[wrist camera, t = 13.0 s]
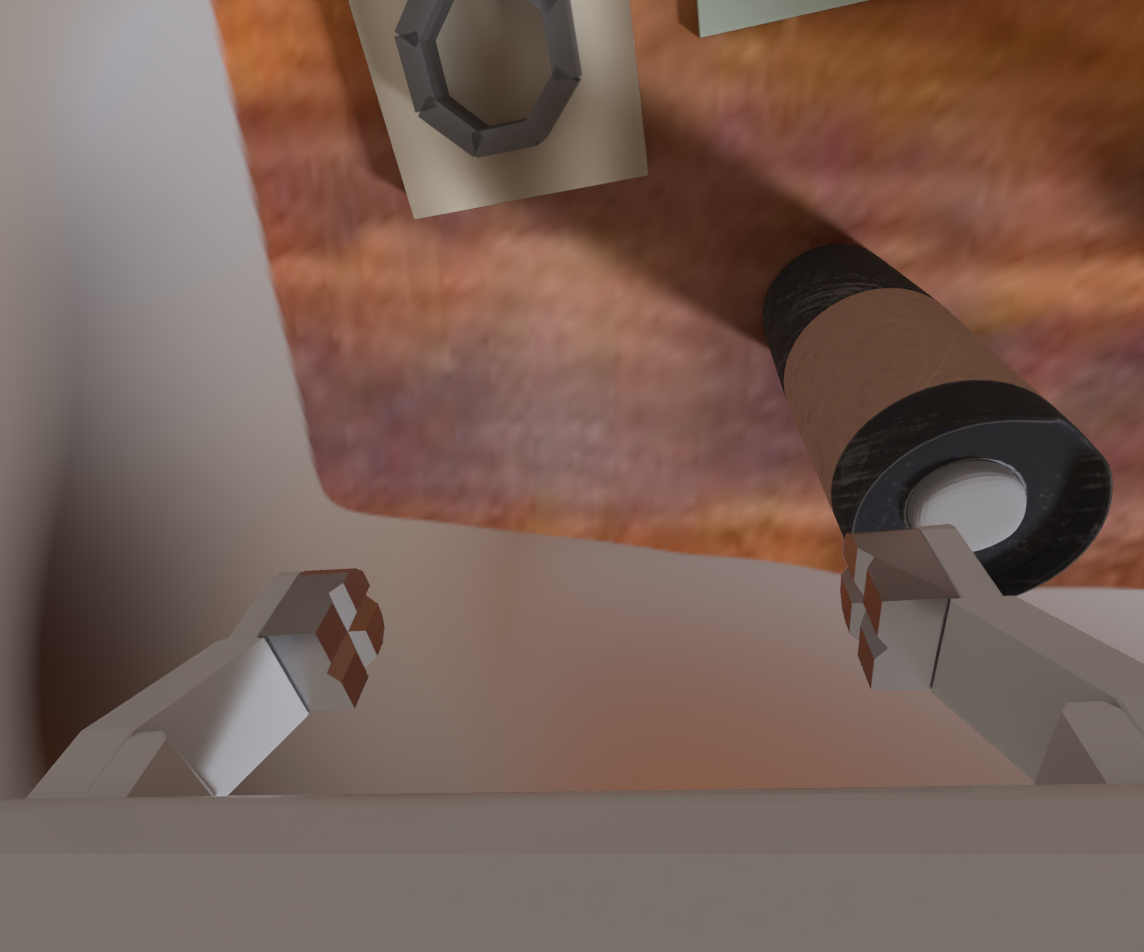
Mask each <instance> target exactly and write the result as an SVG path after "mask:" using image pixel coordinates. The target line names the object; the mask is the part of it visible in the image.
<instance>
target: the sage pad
mask: <svg viewBox="0 0 1144 952" xmlns="http://www.w3.org/2000/svg"><path fill="white" fill-rule="evenodd" d="M863 1H868V0H696V2H697V16H698V31H699V38H702V37H706V36H711V35H715V34H720V33H724V32H729V31H733V30H738V29H742V28H747V27H751V26H756V25H760V24H765V23H769V22H774V21H778V20H783V19H787V18H791V17H796V16H800V15H805V14H809V13H814V12H818V11H823V10H827V9H832V8H836V7H841V6H845V5H850V4H854V3H859V2H863Z"/></svg>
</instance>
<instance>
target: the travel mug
mask: <svg viewBox="0 0 1144 952" xmlns="http://www.w3.org/2000/svg"><path fill="white" fill-rule="evenodd" d="M763 325H764V330H765V334H766V338H767V341H768V345H769V348H770V351H771V354H772V357H773V360H774V363H775V366H776V370H777V373H778V376H779V379H780V382H781V385H782V388H783V392H784V395H785V398H786V401H787V403H788V406H789V408H790V410H791V413H792V415H793V418H794V420H795V422H796V425H797V427H798V430H799V432H800V434H801V437H802V439H803V441H804V444H805V446H806V449H807V451H808V453H809V456H810V458H811V460H812V463H813V465H814V468H815V470H816V472H817V475H818V477H819V480H820V482H821V484H822V487H823V489H824V491H825V494H826V496H827V499H828V501H829V503H830V506H831V508H832V511H833V513H834V515H835V518H836V520H837V522H838V525H839V527H840V530H841V532H842V534H843V537H844V539H845V536H846V533H856V532H869V531H882V530H895V529H908V528H915V527H921V526H932V525H942V524H951V525H952V526H954V527H956V529H957V530H958V531H959V533H960V534H961V536H962V537H963V539H964V540H965V542H966V543H967V544H968V546H969V547H970V549H971V550H972V552H973V553H974V555H975V556H976V557H977V559H978V560H979V562H980V563H981V565H982V566H983V568H984V569H985V570H986V572H987V573H988V575H989V576H990V578H991V579H992V581H993V582H994V583H995V585H996V586H997V588H998V589H999V591H1000V592H1001V594H1002V595H1003V596H1017V595H1020V594H1023V593H1025V592H1027V591H1029V590H1032V589H1034V588H1036V587H1038V586H1039V585H1041V584H1043V583H1045V582H1047V581H1049V580H1050V579H1052V578H1053V577H1055V576H1056V575H1058V574H1059V573H1061V572H1062V571H1064V570H1065V569H1066V568H1067V567H1068V566H1070V565H1071V564H1072V563H1073V562H1075V561H1076V560H1077V559H1078V558H1079V557H1080V556H1081V555H1082V554H1083V553H1084V552H1085V551H1086V550H1087V548H1088V547H1089V546H1090V544H1091V543H1092V542H1093V541H1094V539H1095V538H1096V536H1097V535H1098V533H1099V532H1100V530H1101V528H1102V527H1103V524H1104V522H1105V520H1106V517H1107V515H1108V512H1109V508H1110V504H1111V499H1112V490H1113V486H1112V473H1111V470H1110V467H1109V464H1108V462H1107V461H1106V459H1105V458H1104V457H1103V455H1102V454H1101V453H1100V452H1099V451H1098V450H1097V449H1096V448H1095V447H1094V446H1093V445H1092V443H1091V442H1090V441H1089V440H1088V439H1087V438H1086V437H1085V436H1084V435H1083V434H1082V432H1081V431H1080V430H1079V429H1078V428H1077V427H1075V426H1074V425H1073V424H1072V423H1071V422H1070V421H1069V420H1068V419H1067V418H1066V417H1065V416H1063V415H1062V414H1061V413H1060V412H1059V411H1058V410H1057V409H1056V408H1055V407H1054V406H1052V405H1051V404H1050V403H1049V402H1048V401H1047V400H1046V399H1045V398H1044V397H1043V396H1042V395H1040V394H1039V393H1038V392H1037V391H1036V390H1035V389H1034V388H1033V387H1032V386H1031V385H1029V384H1028V383H1027V382H1026V381H1025V380H1024V379H1023V378H1022V377H1021V376H1020V375H1019V374H1017V373H1016V372H1015V371H1014V370H1013V369H1012V368H1011V367H1010V366H1009V365H1008V364H1006V363H1005V362H1004V361H1003V360H1002V359H1001V358H1000V357H999V356H998V355H997V354H995V353H994V352H993V351H992V350H991V349H990V348H989V347H988V346H987V345H986V344H985V343H983V342H982V341H981V340H980V339H979V338H978V337H977V336H976V335H975V334H974V333H972V332H971V331H970V330H969V329H968V328H967V327H966V326H965V325H964V324H963V323H962V322H960V321H959V320H958V319H957V318H956V317H955V316H954V315H953V314H952V313H951V312H949V311H948V310H947V309H946V308H945V307H944V306H943V305H941V304H940V303H939V302H938V301H936V300H935V299H934V298H932V297H931V296H930V295H928V294H927V293H926V292H924V291H923V290H922V289H920V288H919V287H918V286H917V285H915V284H914V283H913V282H911V281H910V280H909V279H907V278H906V277H905V276H903V275H902V274H901V273H899V272H898V271H897V270H895V269H894V268H893V267H891V266H890V265H889V264H887V263H886V262H885V261H883V260H882V259H881V258H879V257H878V256H876V255H875V254H873V253H871V252H869V251H868V250H866V249H863V248H860V247H857V246H853V245H847V244H834V245H827V246H822V247H818V248H815V249H812V250H810V251H808V252H806V253H804V254H802V255H800V256H799V257H797V258H795V259H794V260H793V261H792V262H790V263H789V264H788V265H787V266H786V267H785V268H784V269H783V270H782V271H781V272H780V273H779V275H778V276H777V277H776V278H775V280H774V282H773V283H772V285H771V287H770V289H769V291H768V293H767V296H766V299H765V303H764V308H763Z"/></svg>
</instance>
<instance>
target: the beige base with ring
mask: <svg viewBox="0 0 1144 952" xmlns="http://www.w3.org/2000/svg"><path fill="white" fill-rule="evenodd" d="M348 2H349V5H350V8H351V12H352V15H353V18H354V22H355V25H356V28H357V31H358V35H359V38H360V41H361V45H362V48H363V51H364V55H365V58H366V61H367V64H368V68H369V71H370V74H371V78H372V81H373V84H374V88H375V91H376V94H377V97H378V101H379V104H380V107H381V111H382V114H383V117H384V121H385V124H386V127H387V131H388V134H389V137H390V140H391V144H392V147H393V150H394V154H395V157H396V160H397V164H398V167H399V170H400V173H401V177H402V180H403V183H404V187H405V190H406V193H407V197H408V200H409V203H410V207H411V210H412V213H413V216H414V219H418V218H424V217H429V216H434V215H440V214H445V213H450V212H456V211H461V210H466V209H472V208H477V207H482V206H488V205H493V204H498V203H504V202H509V201H514V200H520V199H525V198H530V197H536V196H541V195H546V194H552V193H557V192H562V191H568V190H573V189H578V188H584V187H589V186H594V185H600V184H605V183H610V182H616V181H621V180H626V179H632V178H637V177H642V176H648V160H647V151H646V143H645V134H644V125H643V116H642V108H641V99H640V90H639V81H638V72H637V64H636V55H635V46H634V37H633V29H632V20H631V11H630V2H629V0H348Z"/></svg>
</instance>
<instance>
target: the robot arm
mask: <svg viewBox="0 0 1144 952" xmlns="http://www.w3.org/2000/svg"><path fill="white" fill-rule="evenodd" d="M843 555H844V558H845V560H846V563H847V565H848V568H847V569H846V570H845V571H844V572H843V573H842V574H841V587H840V594H841V604H842V611H843V614H844V619H845V622H846V625H847V628H848V630H849V633H850V634H851V635H853V636H854V637H855V638H857V639H858V640H859V647H858V657H859V660H860V663H861V666H862V668H863V671H864V674H865V676H866V679H867V681H868V684H869V686H870V689H871V690H925V689H927V690H930V689H931V690H932V693H933V694H934V695H935V696H936V697H938V698H939V699H940V700H941V701H942V702H943V703H944V704H946V705H947V706H948V707H949V708H950V709H952V711H954V712H955V713H956V714H957V715H958V716H959V717H961V718H962V719H963V720H964V721H965V722H966V723H967V724H969V725H970V726H971V727H972V728H973V729H975V730H976V731H977V732H978V733H979V734H980V735H981V736H983V737H984V738H985V739H986V740H987V741H988V742H989V743H990V744H992V745H993V746H994V747H995V748H996V749H997V750H999V751H1000V752H1001V753H1002V754H1003V755H1004V756H1006V757H1007V758H1008V759H1009V760H1010V761H1011V762H1012V763H1014V764H1015V765H1016V766H1017V767H1018V768H1019V769H1020V770H1022V771H1023V772H1024V773H1025V774H1026V775H1027V776H1029V777H1030V778H1031V779H1032V780H1033V781H1034V782H1035V783H1034V785H977V786H904V787H902V786H901V787H829V788H760V789H686V790H618V791H616V790H615V791H550V792H549V791H547V792H546V791H545V792H472V793H401V794H333V795H332V794H328V795H264V796H263V795H257V796H227V795H228V794H229V793H230V792H231V791H232V790H234V788H235V787H237V786H238V785H239V783H241V781H242V780H243V779H245V777H247V775H249V774H250V773H251V772H252V770H254V768H255V767H256V766H257V765H259V764H260V763H261V761H263V760H264V759H265V758H266V757H267V756H268V755H269V753H271V752H272V751H273V750H274V749H275V748H276V747H277V746H278V745H279V744H280V743H281V742H282V741H283V740H284V739H285V738H286V737H287V736H288V735H289V734H290V733H291V731H293V730H294V729H295V727H297V726H298V725H299V724H300V722H302V721H303V719H305V718H306V717H307V716H308V712H313V711H328V710H342V709H355V707H356V705H357V703H358V700H359V698H360V695H361V693H362V691H363V689H364V686H365V684H366V682H367V680H368V674H367V672H366V669H365V666H367V665H368V664H369V663H370V662H371V661H373V659H375V658H376V657H377V656H378V654H379V651H380V649H381V646H382V644H383V635H384V621H383V616H382V613H381V610H380V608H379V606H378V604H377V603H376V602H374V601H373V600H372V599H370V598H369V597H367V596H366V593H367V591H368V588H369V586H370V585H369V583H368V581H367V579H366V577H365V575H364V573H363V571H361V570H358V569H356V568H355V569H334V570H313V571H304V572H283V573H278V574H276V575H274V576H272V577H271V579H270V580H269V582H268V583H267V584H266V586H265V587H264V589H263V590H262V591H261V593H260V594H259V595H258V597H257V598H256V600H255V601H254V603H253V604H252V605H251V607H250V608H249V610H248V611H247V613H246V614H245V615H244V617H243V618H242V620H241V621H240V622H239V624H238V625H237V627H236V628H235V630H234V631H233V632H232V634H231V635H230V637H229V638H228V639H227V640H219V641H217V642H216V643H214V644H213V645H211V646H209V647H208V648H207V649H205V650H203V651H202V652H200V653H199V654H198V655H196V656H194V657H193V658H191V659H190V660H188V661H187V662H185V663H184V664H182V665H181V666H179V667H178V668H176V669H175V670H173V671H172V672H170V673H169V674H167V675H166V676H164V677H163V678H161V679H160V680H158V681H157V682H155V683H154V684H152V685H150V686H149V687H147V688H146V689H144V690H143V691H141V692H140V693H138V694H137V695H135V696H134V697H132V698H131V699H129V700H128V701H127V702H125V703H123V704H122V705H120V706H119V707H118V708H116V709H114V710H113V711H111V712H110V713H108V714H107V715H105V716H104V717H102V718H101V719H99V720H98V721H96V722H95V723H93V724H92V725H90V726H89V727H87V728H85V729H84V730H82V731H81V732H80V733H79V735H78V736H77V737H76V738H75V739H74V741H73V742H72V743H71V744H70V746H69V747H68V748H67V749H66V750H65V752H64V753H63V754H62V755H61V757H60V758H59V759H58V760H57V761H56V763H55V764H54V765H53V766H52V767H51V769H50V770H49V771H48V772H47V774H46V775H45V776H44V777H43V778H42V780H41V781H40V782H39V783H38V784H37V786H36V787H35V788H34V789H33V791H32V792H31V793H30V794H29V795H28V797H27V798H26V799H0V952H1144V664H1143V663H1141V662H1139V661H1137V660H1135V659H1133V658H1131V657H1129V656H1128V655H1125V654H1124V653H1122V652H1120V651H1118V650H1116V649H1114V648H1112V647H1111V646H1109V645H1107V644H1105V643H1103V642H1101V641H1099V640H1097V639H1095V638H1093V637H1092V636H1090V635H1088V634H1086V633H1084V632H1082V631H1080V630H1078V629H1076V628H1075V627H1073V626H1071V625H1069V624H1067V623H1065V622H1063V621H1061V620H1059V619H1058V618H1056V617H1054V616H1052V615H1050V614H1048V613H1046V612H1044V611H1042V610H1040V609H1039V608H1036V607H1035V606H1033V605H1031V604H1029V603H1027V602H1025V601H1023V600H1021V599H1020V598H1018V597H1016V596H1003V595H1002V594H1001V592H1000V591H999V589H998V588H997V586H996V585H995V583H994V582H993V581H992V579H991V578H990V576H989V575H988V573H987V572H986V570H985V569H984V568H983V566H982V565H981V563H980V562H979V560H978V559H977V557H976V556H975V555H974V553H973V552H972V550H971V549H970V547H969V546H968V544H967V543H966V542H965V540H964V539H963V537H962V536H961V534H960V533H959V531H958V530H957V529H956V527H954V526H952V525H951V524H942V525H932V526H921V527H915V528H908V529H895V530H882V531H869V532H856V533H846V536H845V539H844V545H843Z"/></svg>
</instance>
